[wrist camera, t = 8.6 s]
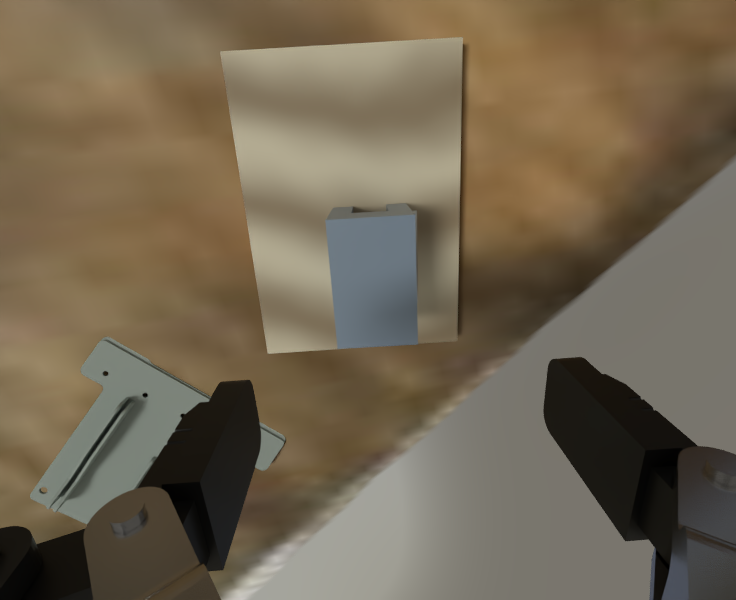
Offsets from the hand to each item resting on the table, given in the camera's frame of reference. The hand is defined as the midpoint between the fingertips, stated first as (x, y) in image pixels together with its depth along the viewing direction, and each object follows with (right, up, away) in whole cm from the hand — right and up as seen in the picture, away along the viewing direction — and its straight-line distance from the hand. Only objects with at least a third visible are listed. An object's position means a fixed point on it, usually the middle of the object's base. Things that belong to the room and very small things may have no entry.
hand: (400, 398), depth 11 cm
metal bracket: (-17, -9, +21) cm, 28 cm away
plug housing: (-1, +5, +15) cm, 16 cm away
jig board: (-2, +8, +15) cm, 17 cm away
